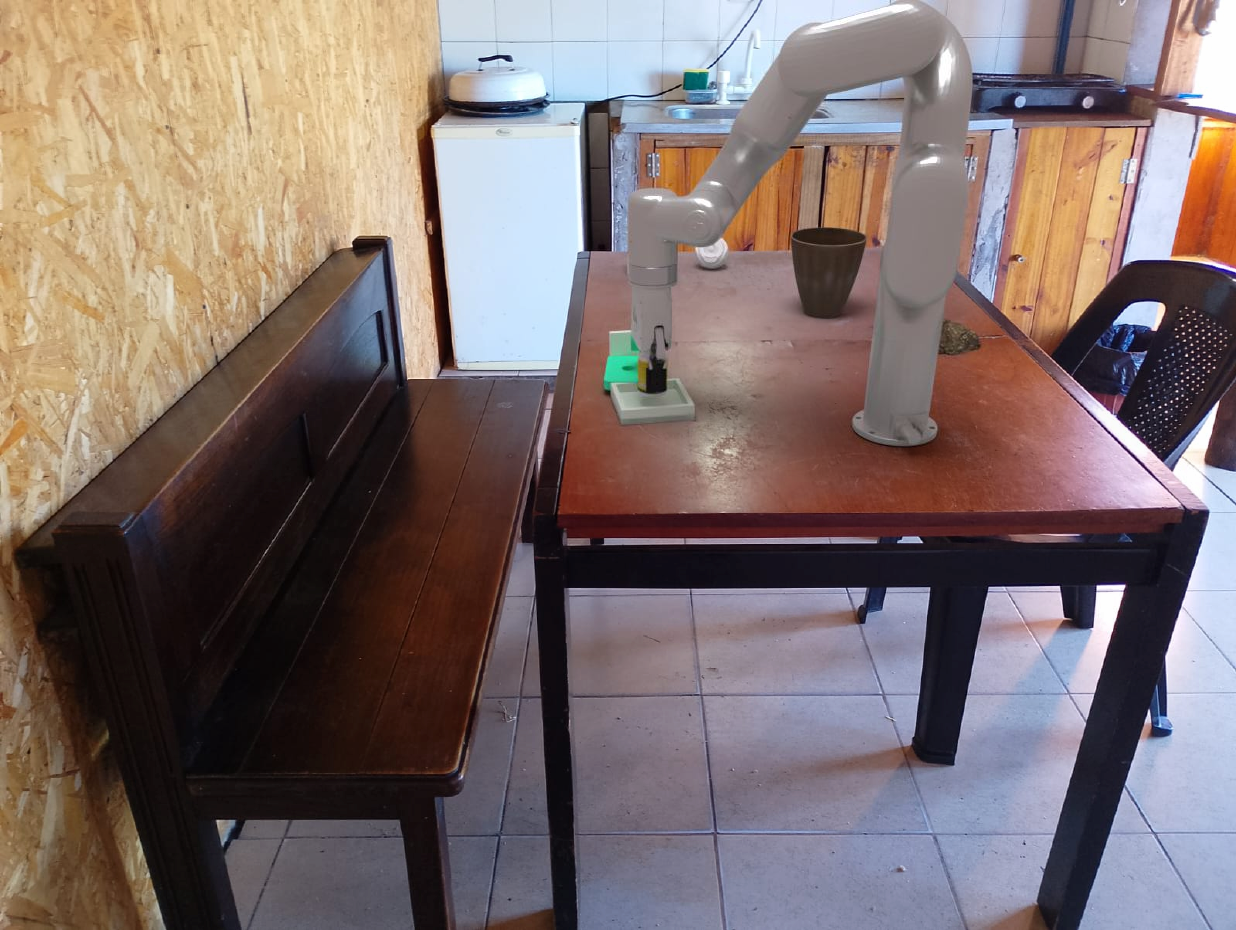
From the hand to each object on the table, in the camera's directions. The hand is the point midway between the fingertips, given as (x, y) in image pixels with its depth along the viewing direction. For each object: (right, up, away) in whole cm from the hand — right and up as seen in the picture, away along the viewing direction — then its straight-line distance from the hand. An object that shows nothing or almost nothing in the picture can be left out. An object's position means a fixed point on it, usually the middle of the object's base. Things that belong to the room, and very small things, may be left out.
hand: (652, 383), depth 155 cm
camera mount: (-4, +1, +12) cm, 12 cm away
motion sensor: (+17, +34, +77) cm, 86 cm away
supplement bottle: (0, -1, +1) cm, 2 cm away
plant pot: (+37, +18, +45) cm, 61 cm away
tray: (0, -4, +2) cm, 4 cm away
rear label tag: (-4, +4, +18) cm, 19 cm away
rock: (+55, +9, +28) cm, 63 cm away
